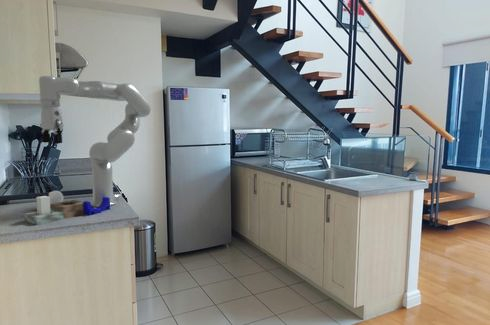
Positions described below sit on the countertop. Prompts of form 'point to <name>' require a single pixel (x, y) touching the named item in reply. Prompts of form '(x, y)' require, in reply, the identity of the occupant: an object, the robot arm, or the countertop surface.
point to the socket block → (57, 212)
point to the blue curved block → (103, 207)
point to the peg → (43, 205)
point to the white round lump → (55, 197)
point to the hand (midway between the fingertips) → (52, 142)
